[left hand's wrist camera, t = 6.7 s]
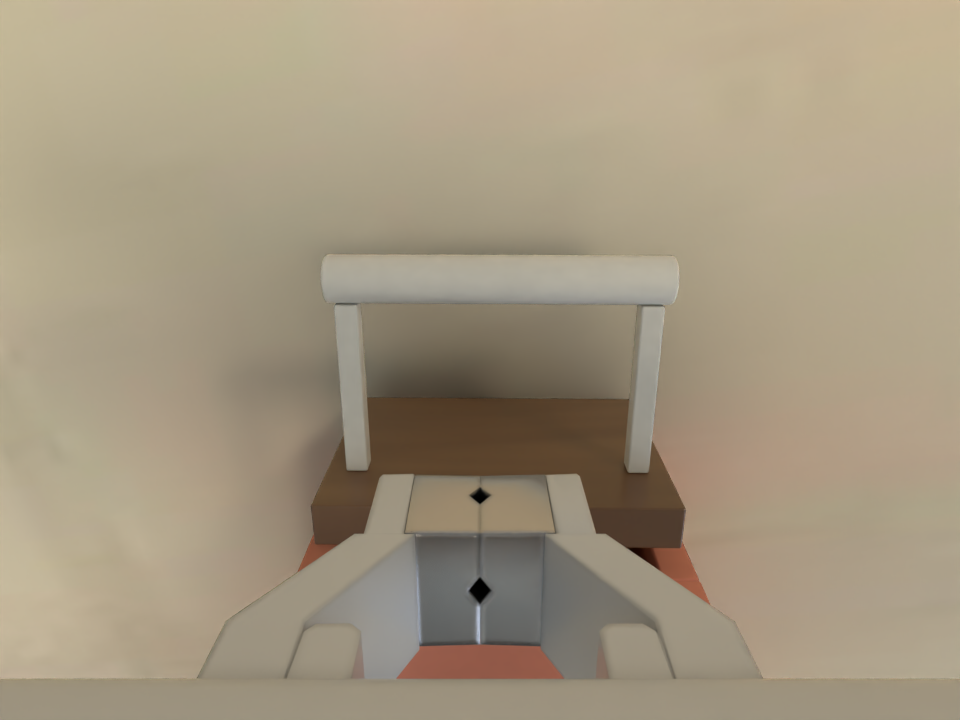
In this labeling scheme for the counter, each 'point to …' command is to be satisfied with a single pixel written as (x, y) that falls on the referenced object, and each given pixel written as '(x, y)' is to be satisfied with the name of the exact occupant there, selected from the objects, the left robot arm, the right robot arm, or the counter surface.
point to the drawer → (495, 421)
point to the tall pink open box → (516, 658)
